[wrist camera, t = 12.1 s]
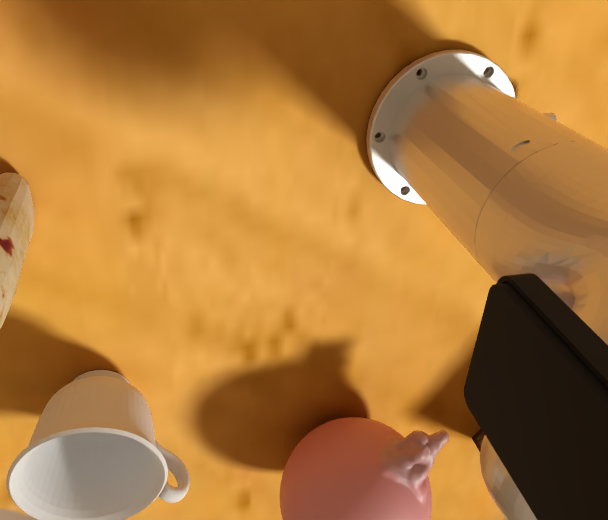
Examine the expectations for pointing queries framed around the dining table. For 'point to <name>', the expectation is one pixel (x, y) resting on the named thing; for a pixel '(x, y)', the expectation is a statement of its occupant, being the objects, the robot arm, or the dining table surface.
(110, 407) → the teacup
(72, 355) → the dining table surface
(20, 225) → the food model
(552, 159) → the robot arm
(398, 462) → the balloon
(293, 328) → the dining table surface
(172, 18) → the dining table surface
